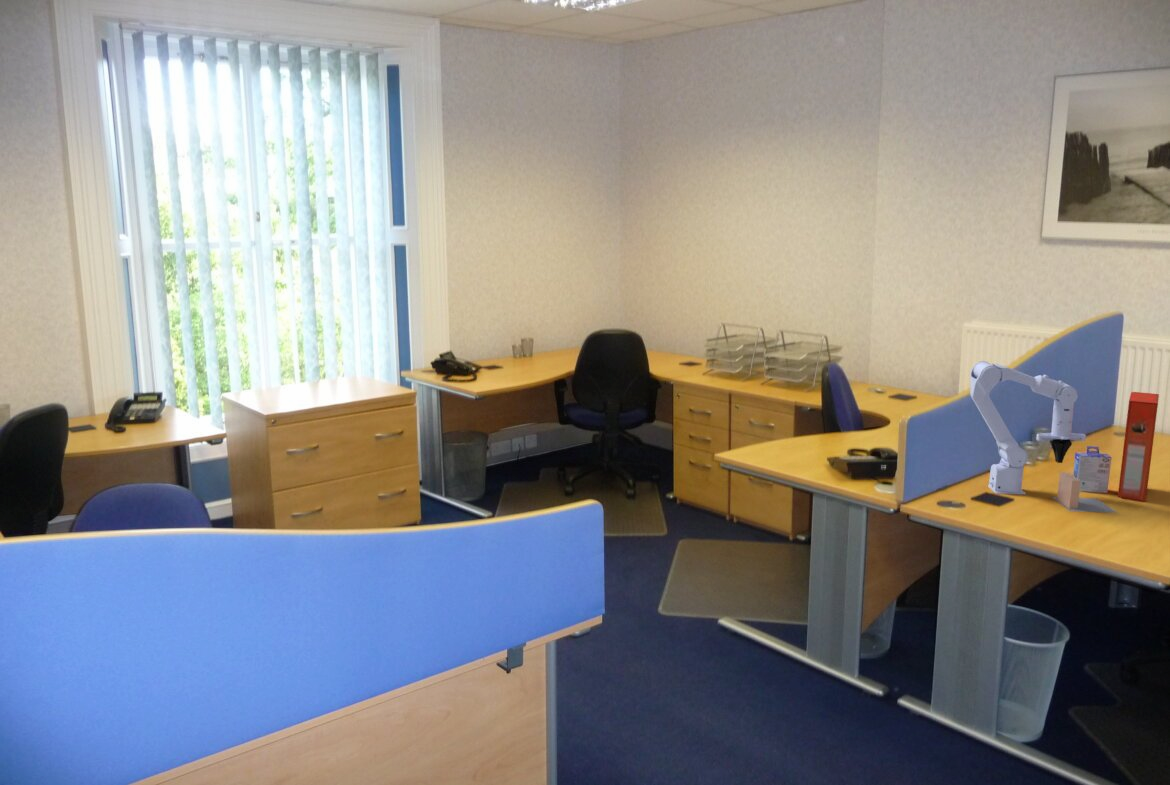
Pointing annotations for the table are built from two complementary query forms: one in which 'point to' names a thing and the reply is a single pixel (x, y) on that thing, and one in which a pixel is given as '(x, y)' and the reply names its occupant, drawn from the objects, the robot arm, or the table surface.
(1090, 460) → the ink cartridge box
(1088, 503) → the desk mat
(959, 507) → the table surface
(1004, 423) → the robot arm
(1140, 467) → the file binder
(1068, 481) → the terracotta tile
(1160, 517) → the table surface
